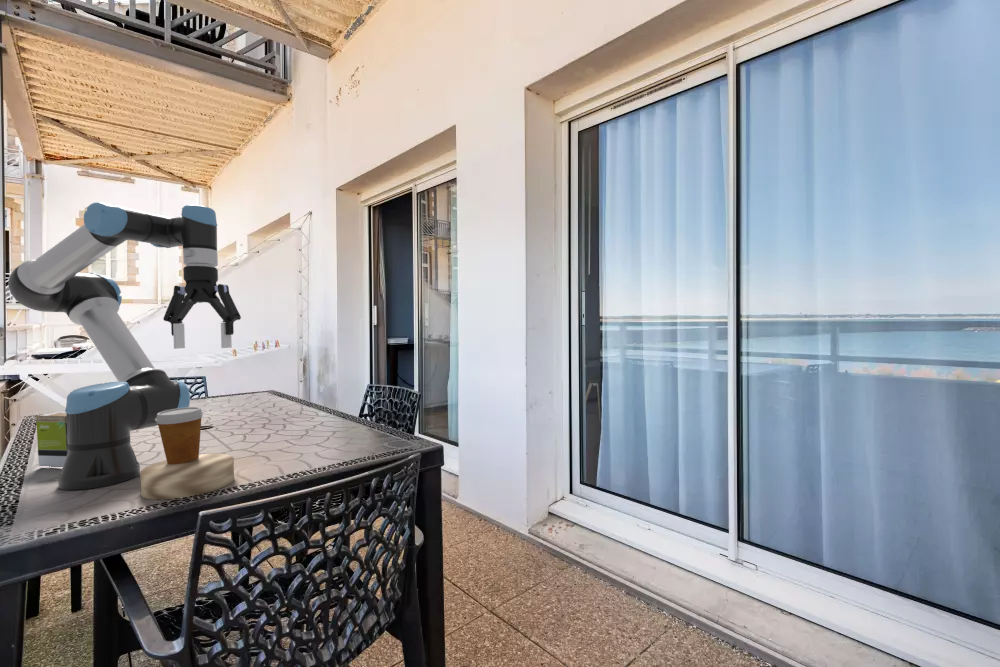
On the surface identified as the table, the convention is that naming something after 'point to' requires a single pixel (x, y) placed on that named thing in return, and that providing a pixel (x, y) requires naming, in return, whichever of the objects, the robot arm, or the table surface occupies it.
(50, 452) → the tea box
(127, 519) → the table surface
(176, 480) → the wooden plinth
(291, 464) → the table surface
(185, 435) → the disposable coffee cup
